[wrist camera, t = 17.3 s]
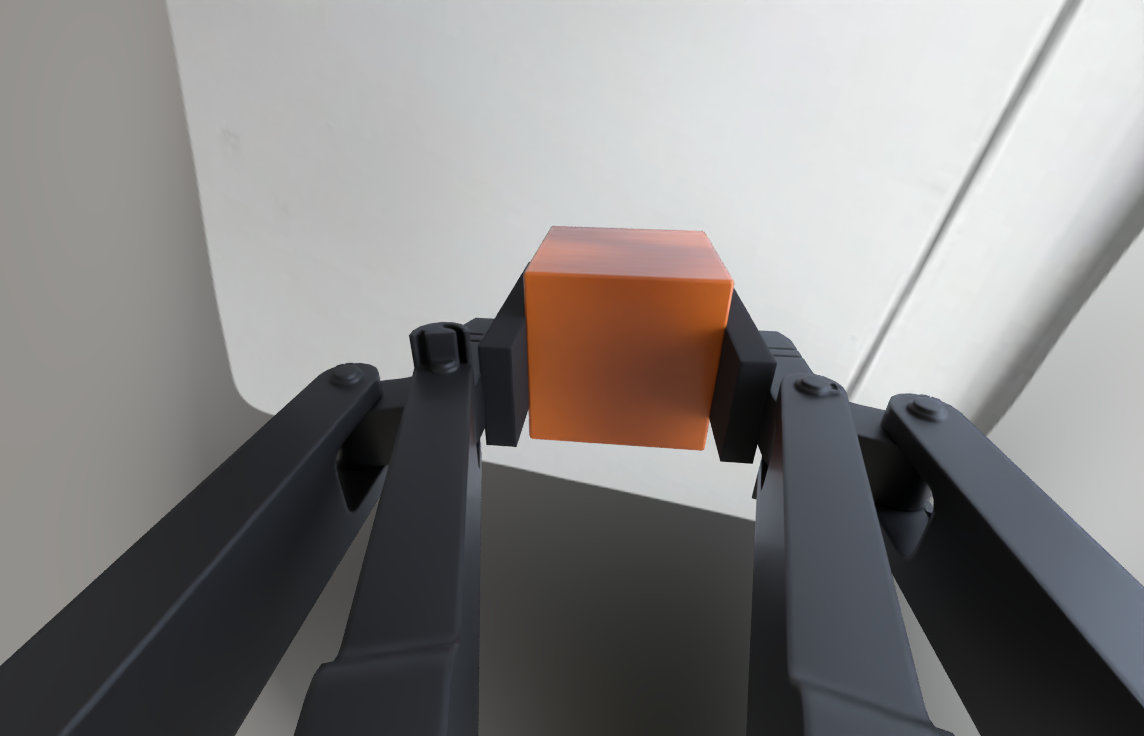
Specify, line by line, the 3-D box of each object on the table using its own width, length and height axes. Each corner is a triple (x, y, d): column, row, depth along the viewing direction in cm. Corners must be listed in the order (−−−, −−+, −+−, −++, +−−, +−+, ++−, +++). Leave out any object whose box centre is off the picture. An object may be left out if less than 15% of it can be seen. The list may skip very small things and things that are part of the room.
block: (552, 359, 18) (528, 439, 14) (550, 225, 16) (522, 272, 12) (685, 367, 18) (704, 452, 14) (705, 230, 16) (735, 281, 11)
